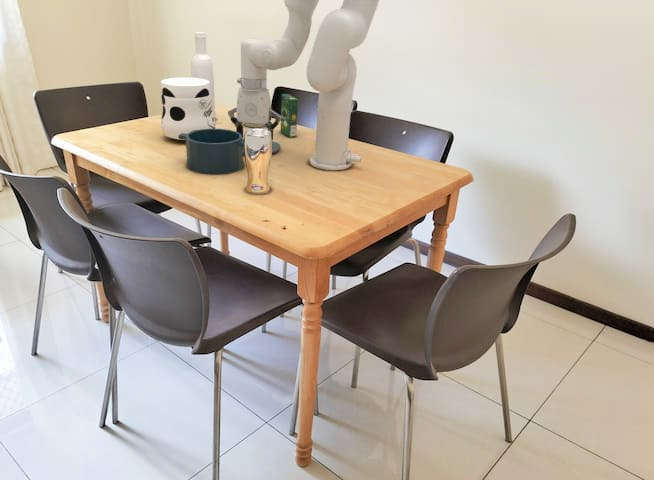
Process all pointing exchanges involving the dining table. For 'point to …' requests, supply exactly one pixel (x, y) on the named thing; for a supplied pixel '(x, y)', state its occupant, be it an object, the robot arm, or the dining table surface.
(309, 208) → the dining table surface
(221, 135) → the pot
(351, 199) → the dining table surface
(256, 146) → the beer glass
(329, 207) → the dining table surface
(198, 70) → the bottle
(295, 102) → the coffee box
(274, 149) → the lid
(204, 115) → the milk container
